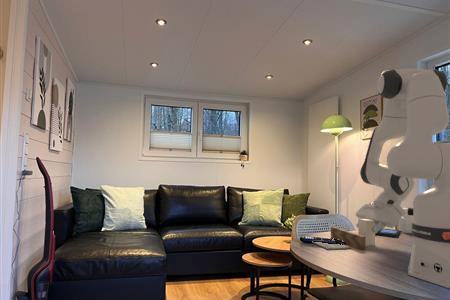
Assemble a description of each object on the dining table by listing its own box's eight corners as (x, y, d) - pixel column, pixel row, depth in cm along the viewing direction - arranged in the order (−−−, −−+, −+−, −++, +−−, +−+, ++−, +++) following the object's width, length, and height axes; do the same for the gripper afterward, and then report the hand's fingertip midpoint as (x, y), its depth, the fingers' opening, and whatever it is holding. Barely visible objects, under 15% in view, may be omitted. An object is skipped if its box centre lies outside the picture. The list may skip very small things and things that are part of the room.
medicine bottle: (412, 230, 161) (412, 207, 161) (420, 233, 153) (419, 209, 154) (398, 230, 161) (397, 206, 162) (404, 233, 154) (404, 208, 155)
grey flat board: (350, 248, 120) (350, 246, 120) (327, 250, 118) (327, 247, 118) (332, 241, 132) (332, 238, 132) (311, 242, 130) (311, 239, 130)
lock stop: (375, 245, 128) (375, 220, 128) (365, 245, 126) (365, 220, 127) (367, 242, 132) (367, 218, 132) (358, 242, 131) (358, 218, 131)
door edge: (365, 249, 120) (365, 236, 120) (360, 249, 119) (360, 236, 119) (334, 238, 139) (334, 226, 139) (330, 238, 139) (330, 226, 139)
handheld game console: (397, 238, 142) (397, 218, 143) (366, 234, 150) (365, 215, 150) (400, 233, 155) (400, 214, 156) (371, 229, 163) (371, 211, 163)
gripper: (364, 197, 142) (345, 219, 139) (399, 202, 122) (378, 228, 119) (372, 207, 143) (354, 229, 140) (409, 214, 123) (388, 240, 120)
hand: (365, 229), depth 129 cm, fingers open, 8 cm apart
